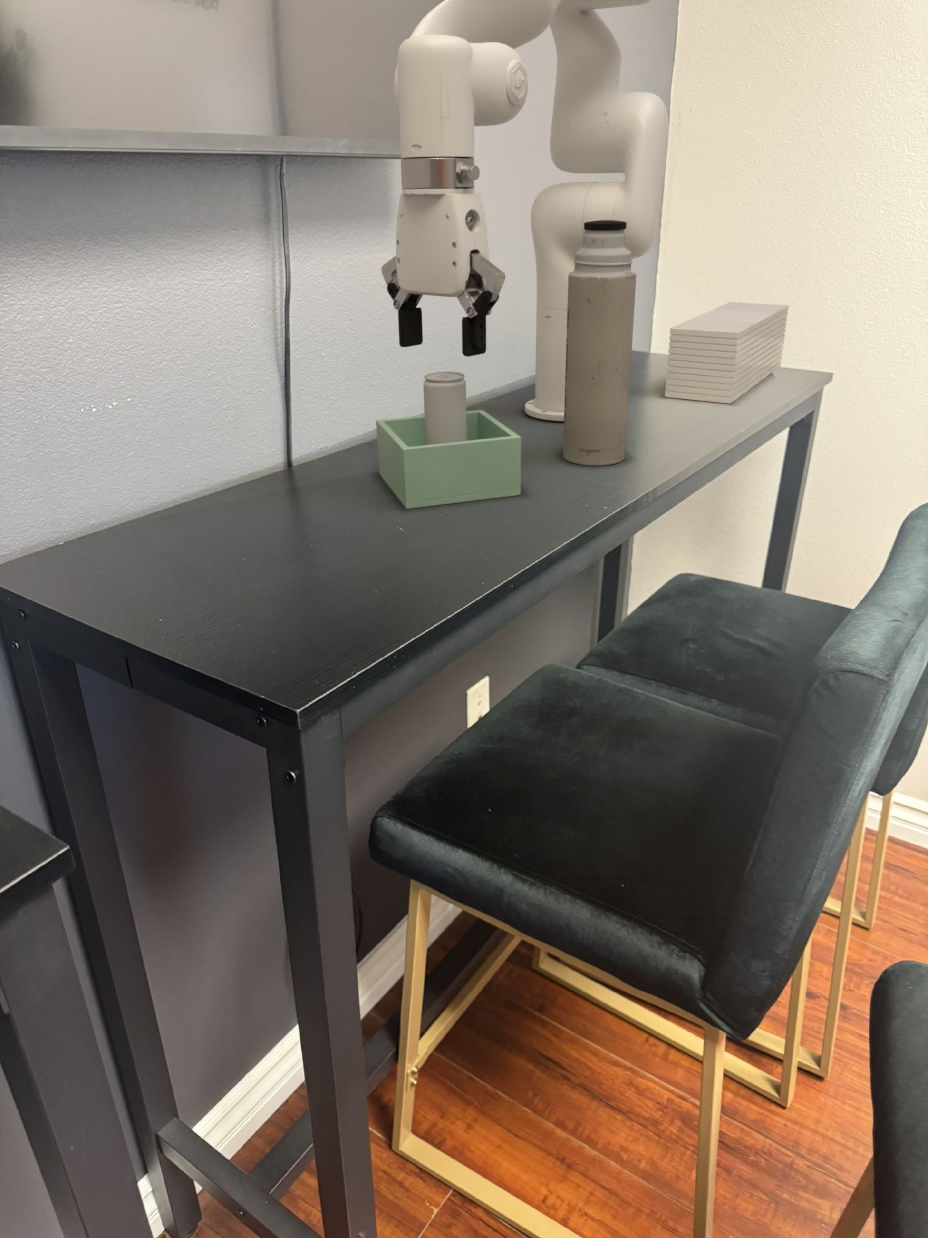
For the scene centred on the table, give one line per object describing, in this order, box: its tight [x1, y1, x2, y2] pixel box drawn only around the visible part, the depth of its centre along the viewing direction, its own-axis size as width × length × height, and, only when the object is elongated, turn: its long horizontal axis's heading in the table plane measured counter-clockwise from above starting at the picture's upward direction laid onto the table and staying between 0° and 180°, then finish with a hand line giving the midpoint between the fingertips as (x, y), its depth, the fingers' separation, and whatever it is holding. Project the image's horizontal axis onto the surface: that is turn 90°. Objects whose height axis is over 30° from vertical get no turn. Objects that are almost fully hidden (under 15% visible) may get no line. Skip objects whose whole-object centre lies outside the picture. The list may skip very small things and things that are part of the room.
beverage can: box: [423, 371, 467, 445], centre depth 104 cm, size 5×5×12 cm
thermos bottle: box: [562, 220, 637, 467], centre depth 110 cm, size 8×8×28 cm
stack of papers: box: [664, 301, 790, 404], centre depth 152 cm, size 32×11×11 cm, turn 149°
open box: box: [375, 409, 522, 510], centre depth 106 cm, size 14×14×7 cm
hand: (441, 349), depth 100 cm, fingers open, 9 cm apart
